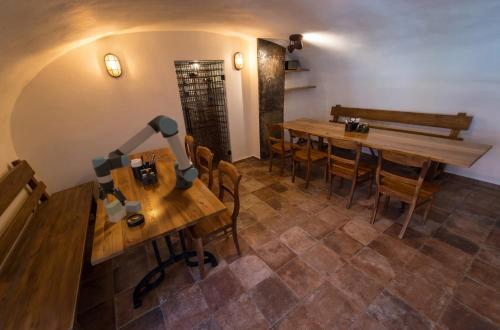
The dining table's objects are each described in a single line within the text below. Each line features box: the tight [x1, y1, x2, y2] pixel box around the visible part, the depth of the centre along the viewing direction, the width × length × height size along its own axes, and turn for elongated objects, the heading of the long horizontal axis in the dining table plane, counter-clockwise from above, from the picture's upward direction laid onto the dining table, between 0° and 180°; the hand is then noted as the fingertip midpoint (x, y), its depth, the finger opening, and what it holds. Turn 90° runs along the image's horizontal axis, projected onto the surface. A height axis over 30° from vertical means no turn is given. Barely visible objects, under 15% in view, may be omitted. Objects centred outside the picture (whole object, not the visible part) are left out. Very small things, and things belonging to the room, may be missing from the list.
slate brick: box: [125, 200, 143, 214], centre depth 149 cm, size 9×5×6 cm, turn 80°
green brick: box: [104, 199, 122, 216], centre depth 138 cm, size 5×9×6 cm, turn 167°
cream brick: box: [107, 210, 128, 224], centre depth 141 cm, size 5×9×6 cm, turn 167°
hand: (115, 208), depth 139 cm, fingers open, 13 cm apart
